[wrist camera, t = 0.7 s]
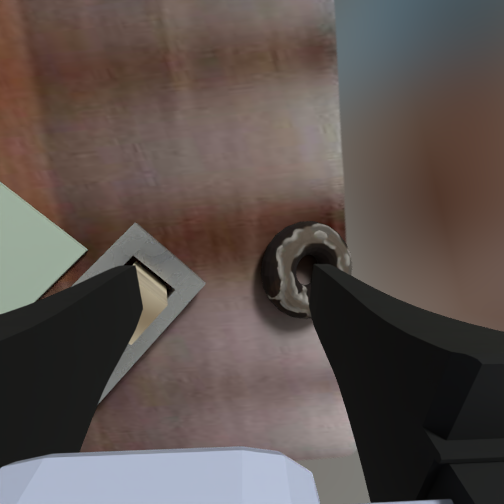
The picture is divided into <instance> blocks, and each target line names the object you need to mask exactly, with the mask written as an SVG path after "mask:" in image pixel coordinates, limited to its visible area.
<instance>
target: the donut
mask: <svg viewBox="0 0 504 504" xmlns="http://www.w3.org/2000/svg"><path fill="white" fill-rule="evenodd" d="M306 255H312V256H314V257H315V258H316V260H317V262H318V264H330V265H332V266H334V267H336V268H338V269H340V270H342V271H344V272H346V273H347V274H349V275H351V274H352V262H351V255H350V252H349V250H348V247H347V245H346V243H345V241H344V240H343V239H342V238H341V236H340V235H339V234H338V233H337V232H336V231H335V230H333V229H332V228H330V227H329V226H327V225H324V224H321V223H318V222H314V221H307V222H298V223H296V224H293V225H290V226H288V227H286V228H284V229H283V230H282V231H281V232H279V233H278V234H277V235H275V237H274V238H273V240H272V241H271V242H270V244H269V245H268V246H267V249H266V252H265V254H264V257H263V260H262V269H261V276H262V282H263V288H264V290H265V292H266V294H267V296H268V298H269V300H270V301H271V302H272V303H273V304H274V305H275V306H276V307H277V308H278V309H279V310H280V311H282V312H284V313H286V314H287V315H289V316H292V317H296V318H303V319H308V318H312V317H311V313H310V309H309V299H310V291H311V283H310V284H308V285H302V284H300V283H299V281H298V280H297V277H296V267H297V265H298V263H299V261H300V260H301V258H303V257H304V256H306Z"/></svg>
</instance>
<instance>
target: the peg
mask: <svg viewBox="0 0 504 504" xmlns="http://www.w3.org/2000/svg"><path fill="white" fill-rule="evenodd" d="M133 265H136V270H137V276H138V281H139V287H140V293H141V298H142V304H143V311H142V313H141V316H140V319H139V322H138V325H137V327H136V330H135V332H134V334H133V336H132V338H131V340H130V341H129V344H130V345H132V344H133V343H134V342H135V341H136V340H137V339H138V337H139V336H140V335H141V334H142V333H143V332H144V331H145V330H146V329H147V328H148V326H149V325H150V324H151V323H152V322H153V321H154V320H155V319H156V318H157V316H158V315H159V314H160V313H161V312H162V311H163V310H164V309H165V308H166V307H167V305H168V302H167V289H166V285H165V284H164V283H162V282H161V281H160V280H159V279H157V278H156V277H155V276H154V275H153V274H151V273H150V272H149V271H148V270H146V269H145V268H144V267H143V266H141V265H140V264H139V263H138V262H135V263H134V264H133Z"/></svg>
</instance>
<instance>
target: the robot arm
mask: <svg viewBox="0 0 504 504" xmlns="http://www.w3.org/2000/svg"><path fill="white" fill-rule="evenodd" d="M309 309H310V313H311V317H312V320H313V324H314V327H315V330H316V332H317V334H318V337H319V339H320V342H321V344H322V346H323V348H324V351H325V353H326V355H327V358H328V360H329V362H330V365H331V367H332V369H333V372H334V374H335V377H336V379H337V382H338V385H339V388H340V391H341V394H342V398H343V401H344V404H345V407H346V411H347V414H348V418H349V421H350V425H351V428H352V432H353V435H354V439H355V442H356V446H357V450H358V453H359V457H360V461H361V465H362V469H363V472H364V476H365V480H366V485H367V489H368V493H369V497H370V501H371V503H359V504H504V332H502V331H498V330H493V329H489V328H485V327H481V326H477V325H473V324H469V323H466V322H462V321H459V320H455V319H452V318H448V317H445V316H442V315H439V314H436V313H433V312H429V311H427V310H424V309H421V308H418V307H416V306H413V305H411V304H408V303H406V302H403V301H401V300H398V299H396V298H394V297H392V296H389V295H387V294H385V293H383V292H381V291H379V290H377V289H375V288H373V287H371V286H369V285H367V284H365V283H364V282H362V281H360V280H358V279H356V278H354V277H353V276H351V275H349V274H347V273H346V272H344V271H342V270H340V269H338V268H336V267H334V266H332V265H330V264H314V265H313V273H312V282H311V291H310V299H309ZM142 311H143V304H142V298H141V293H140V287H139V281H138V276H137V270H136V265H120V266H117V267H114V268H111V269H109V270H106V271H104V272H102V273H100V274H98V275H95V276H93V277H91V278H89V279H87V280H85V281H83V282H80V283H78V284H76V285H74V286H72V287H69V288H67V289H65V290H63V291H60V292H58V293H56V294H53V295H51V296H49V297H46V298H44V299H42V300H39V301H37V302H34V303H31V304H29V305H26V306H23V307H20V308H17V309H15V310H12V311H9V312H6V313H3V314H0V504H320V500H319V496H318V492H317V489H316V485H315V481H314V478H313V474H312V472H310V471H309V470H308V469H306V468H305V467H303V466H302V465H300V464H299V463H297V462H295V461H294V460H292V459H290V458H289V457H287V456H286V455H284V454H282V453H281V452H279V451H274V450H266V449H258V448H250V447H243V446H238V447H213V448H187V449H161V450H135V451H109V452H84V453H79V452H80V449H81V446H82V444H83V441H84V438H85V436H86V433H87V430H88V428H89V425H90V423H91V420H92V417H93V415H94V413H95V410H96V408H97V405H98V403H99V400H100V398H101V396H102V393H103V391H104V389H105V387H106V385H107V383H108V381H109V378H110V377H111V375H112V373H113V371H114V369H115V367H116V366H117V364H118V362H119V360H120V358H121V356H122V354H123V353H124V351H125V349H126V347H127V345H128V343H129V341H130V340H131V338H132V336H133V334H134V332H135V330H136V327H137V325H138V322H139V319H140V316H141V313H142Z"/></svg>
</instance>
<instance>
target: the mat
mask: <svg viewBox="0 0 504 504" xmlns="http://www.w3.org/2000/svg"><path fill="white" fill-rule="evenodd" d="M87 250H88V249H87V248H85V247H84V246H83V245H81V244H80V243H79V242H77V241H76V240H75V239H74V238H72V237H71V236H70V235H68V234H67V233H66V232H65V231H63V230H62V229H61V228H59V227H58V226H57V225H55V224H54V223H53V222H52V221H50V220H49V219H48V218H46V217H45V216H44V215H43V214H41V213H40V212H39V211H37V210H36V209H35V208H34V207H32V206H31V205H30V204H28V203H27V202H26V201H24V200H23V199H22V198H21V197H19V196H18V195H17V194H15V193H14V192H13V191H12V190H10V189H9V188H8V187H6V186H5V185H4V184H2V183H1V182H0V314H3V313H6V312H9V311H12V310H15V309H17V308H20V307H23V306H26V305H29V304H31V303H34V302H36V301H37V300H38V299H39V298H40V297H41V296H42V295H43V294H44V293H45V292H46V291H47V290H48V289H49V288H50V287H51V286H52V285H53V284H54V283H55V282H56V281H57V280H58V279H59V278H60V277H61V276H62V275H63V274H64V273H65V272H66V271H67V270H68V269H69V268H70V267H71V266H72V265H73V264H74V263H75V262H76V261H77V260H78V259H79V258H80V257H81V256H82V255H83V254H84V253H85V252H86V251H87Z"/></svg>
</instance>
